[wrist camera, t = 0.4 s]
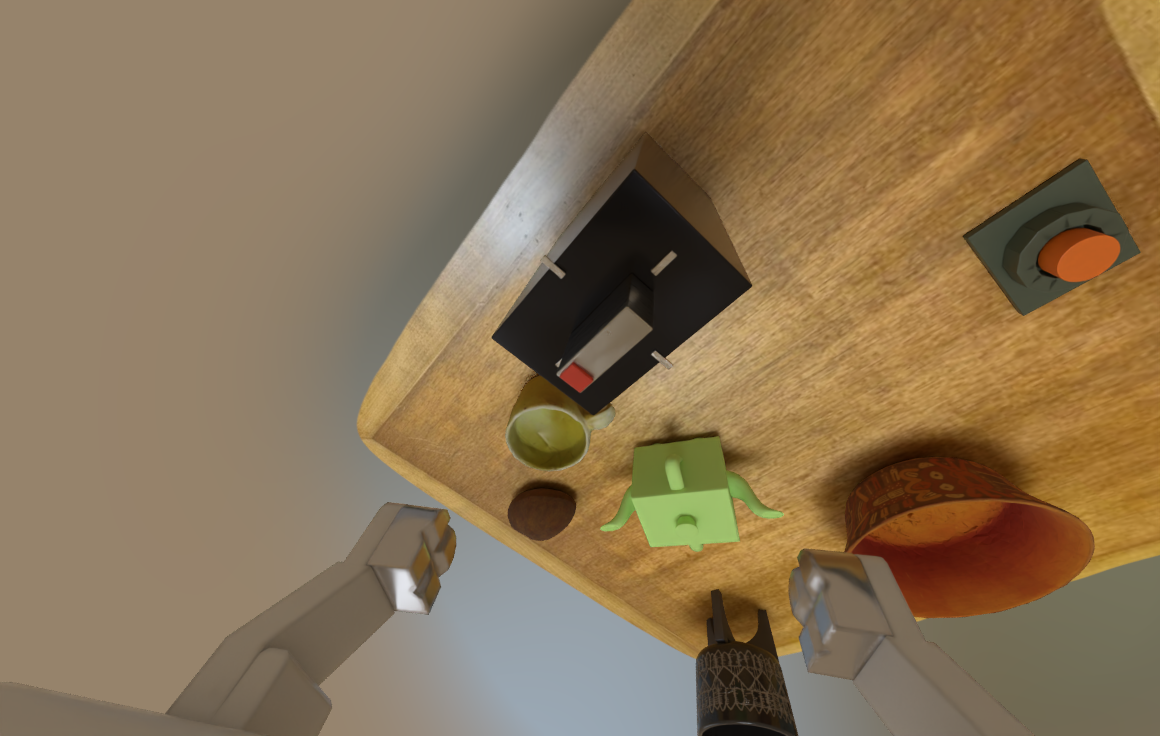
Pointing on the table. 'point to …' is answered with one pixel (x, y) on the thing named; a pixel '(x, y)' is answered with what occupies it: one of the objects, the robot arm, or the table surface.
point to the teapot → (686, 495)
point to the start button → (1078, 254)
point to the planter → (741, 682)
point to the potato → (541, 513)
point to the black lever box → (628, 272)
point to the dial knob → (608, 333)
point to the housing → (1046, 234)
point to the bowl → (963, 537)
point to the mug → (551, 427)
